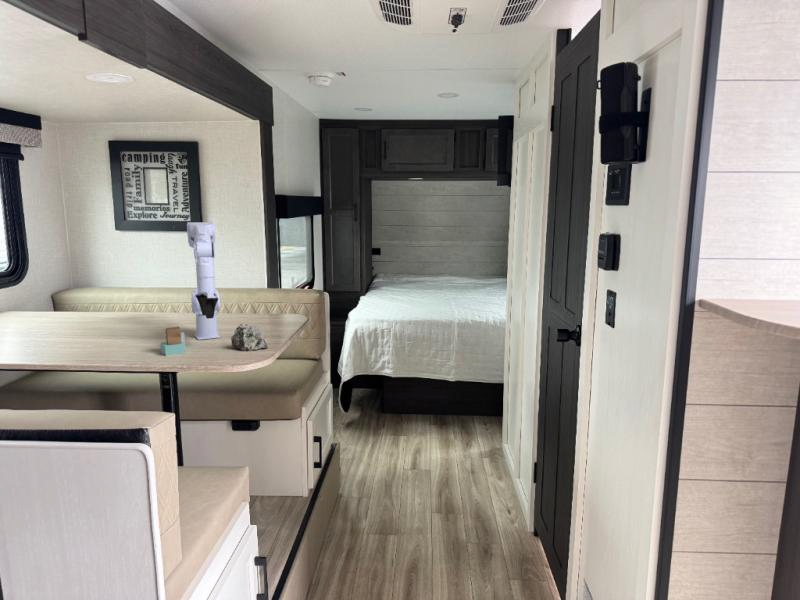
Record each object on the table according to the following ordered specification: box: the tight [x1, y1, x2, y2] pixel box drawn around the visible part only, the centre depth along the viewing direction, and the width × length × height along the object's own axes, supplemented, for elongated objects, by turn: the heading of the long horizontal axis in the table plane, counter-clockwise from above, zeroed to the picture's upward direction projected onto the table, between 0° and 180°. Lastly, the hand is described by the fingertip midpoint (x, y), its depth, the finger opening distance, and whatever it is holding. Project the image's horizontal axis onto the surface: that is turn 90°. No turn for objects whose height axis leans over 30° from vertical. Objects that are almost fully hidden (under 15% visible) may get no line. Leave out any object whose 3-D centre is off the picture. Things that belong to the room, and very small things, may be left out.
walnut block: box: [165, 326, 182, 345], centre depth 174 cm, size 4×4×5 cm
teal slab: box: [160, 341, 186, 357], centre depth 174 cm, size 6×6×4 cm
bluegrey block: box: [181, 331, 186, 345], centre depth 182 cm, size 4×4×5 cm
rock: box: [230, 323, 269, 352], centre depth 181 cm, size 13×10×10 cm
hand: (207, 316), depth 182 cm, fingers open, 7 cm apart
